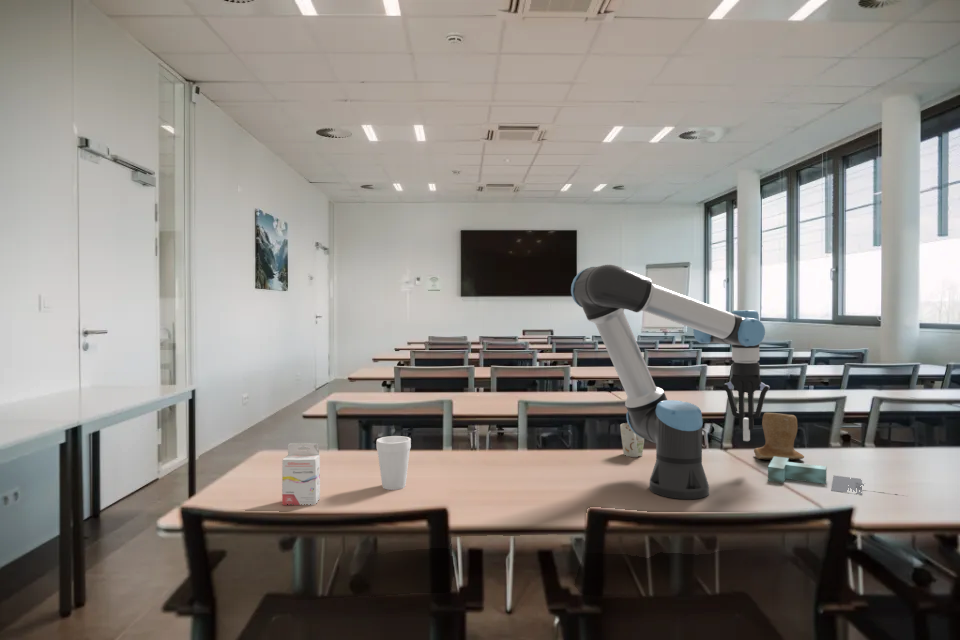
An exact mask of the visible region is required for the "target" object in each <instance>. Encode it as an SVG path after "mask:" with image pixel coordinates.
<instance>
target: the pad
mask: <svg viewBox="0 0 960 640" xmlns="http://www.w3.org/2000/svg"><path fill="white" fill-rule="evenodd" d="M861 479H862V478H856V477H851V479H850V477H849V476H841V475H835V474H834V475H833V477H832V482H831V488H830V491H831V492H836V493H837V492H838V493H843V492H847V490H848V488H849V491H850V488H851V489H852V492H853V490H854V491H855V492H856V488H857V493H856V494H855V495H857V494H860V495H859V496H863V490H862V486H861V485H863V486H864V484H865V483H864V484H863V479H862V480H861ZM848 485H849V486H848ZM860 486H861V487H860ZM859 490H860V492H859ZM861 492H862V493H861Z"/></svg>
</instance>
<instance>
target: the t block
mask: <svg viewBox="0 0 960 640" xmlns="http://www.w3.org/2000/svg"><path fill="white" fill-rule="evenodd" d="M827 468H828V467H827V465H816V464H810V463H809V464H808V463H800V462H793V461H790V460H789V458H784V457H775V456H774V457H773V459H772V460H770V462H769V464H768V466H767V481H768V482H776V483H781V484H783V483H785V481H786V479H787V480H795V481H800V482H801V481H802V482H809V483H817V484H823V485H824V484H825V485H826V484H827Z"/></svg>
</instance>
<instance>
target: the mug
mask: <svg viewBox="0 0 960 640" xmlns="http://www.w3.org/2000/svg"><path fill="white" fill-rule="evenodd" d="M619 427H620V429H619V430H620V436H621V437H620V438H621V444H622V452H623V455H624V456H625V455H626V457H628V456H630V458H639V457H638V456H641V457H642V456H643V452H644V444H645V439H644V438H642V437H640V436H638V435H637V434H636V433H635V432H633V431H632V429H631V428H630V427H629V425H628V422H625V423H624V422H623V423H621V424H620V425H619Z"/></svg>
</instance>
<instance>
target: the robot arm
mask: <svg viewBox="0 0 960 640" xmlns="http://www.w3.org/2000/svg"><path fill="white" fill-rule="evenodd" d="M570 294H571V297H572V299H573V300H574V302H575V304H576V305H578V306H579V307H580V308H582V310H583V312H584V314H585V316H586V319H587V321H589V322H591V323H594V324H595V326H596V328H597V330H598V333H599V335H600V337H601V340H602V342H603V344H604V346H605V349H606V351H607V353H608V356H609V358H610V360H611V362H612V365H613V367H614V369H615V372H616V374H617V376H618V378H619V380H620V383H621V386H622V387H623V390H624V392H625V395H626V397H627V398H626V399H625V402H624V405H625V407H626V411H627V412H626V421H627V422H626V423H628V425H629V427H630V428H631V429H632V431H633V432H635V433H636V434H637V435H638V436H640V437H642V438H644V440H647V441H648V442H649V441H650V442H652V443H655V451H656V452H655V453H656V454H655V455H656V457H655V458H656V459H655V463H654V467H653V469H652V472H651V475H650V478H649V490H650V491H651V492H652V493H654V494H655V495H656V494H657V495H658V496H661V497H666V498H670V499H678V500H697V499H703V498H706V497H707V496H709V494H710V484H709V481H708V478H707V475H706V473H705V469H704V467H703V466H704V465H703V425H704V424H703V423H704V420H703V415H702V413H703V412H702V410H701V409H700V408H699V407H698V406H697V405H696V404H694V403H691V402H688V401H682V400H675V399H671V400H670V399H668V397H667V395H666V393H665V391H664V389H663V388H661V387H659V386H656V384H655V381H654V380H653V377H652V375H651V372H650V370H649V367H648V366H647V362H646V361H645V359H644V358H645V357H644V356H643V354H642V351H641V349H640V346H639V345H638V341H637V340H636V337H635V335H634V332H633V330H632V329H631V326H630V324H629V321H628V318H627V317H626V315H625V310H627V311H632V312H634V313H640V312H641V311H643V312H645V313H648V314H651V315H654V316H657V317H659V318H663V319H665V320H668V321H671V322H673V323H675V324H676V323H677V324H679V325H681V326H684V327H688V328H690V329H693V333H692V334H693V336H694V339H695V340H696V341H697V342H698V343H699V344H720V345H721V344H722V345H731V360H732V361H733V362H732V363H731V370H732V371H731V374H732V375H731V378H730V380H729V382H725V383H724V384H723V385H722V387H723V389H724V391H725V392H726V396H727V400H728V403H729V406H730V411H731V414H732V416H735V417H737V418H738V425H739V426H738V427H739V430H742V440H743V442H749V441H750V440H751V431H753V429H754V427H755V425H754V424H755V423H754V422H755V421H754V419H757V418H760V416H761V415H762V414H761V413H762V409H763V406H764V402H765V398H766V395H767V392H768V391H769V390H770V388H771V386H770V385H768V384H765V383H764V382H762V381H763V380H762V377H761V376H760V375H761V374H760V373H761V372H760V371H761V367H760V366H761V365H760V362H759V361H760V356H761V355H760V344H761V343H762V342H763V341H764V338H765V335H766V329H765V326H764V324H763V322H762V321H760V316H759V315H760V314H759V312H758V311H757V310H755V309H751V310H750V309H741V310H733V311H726V310H725V309H722V308H720V307H719V308H718V307H715V306H714V305H711V304H708V303H705V302H702V301H700V300H697V299H695V298H692V297H689V296H687V295H684V294H681V293H678V292H675V291H673V290H670V289H668V288H665V287H662V286H660V285H658V284H657V285H656V284H654V283H653V281H652V279H651V278H649V277H647V276H645V275H642V274H638V273H636V272H634V271H632V270H630V269H627V268H624V267H622V266H619V265H615V264H603V265H599V266H590V267H587V268H584V269H583V270H581V271H580V272H579V271H578V273H577V274H576V276H574V278H573V280H572V283H571V286H570ZM733 387H734V389H735V390H736V391H737V392H738V393H737V395H738V408H737V403H736V400H735V396H734V393H733ZM759 387H760V388H759ZM758 388H759V390H760V394H759V398H758V401H757V406H756V410H755V407H754V405H755V403H754V400H755V399H754V397H755V396H754V395H755V392H756V390H758ZM745 393H746V394H747V412H748V413H747V417H745V416H746V414H745ZM754 410H755V411H754Z"/></svg>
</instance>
